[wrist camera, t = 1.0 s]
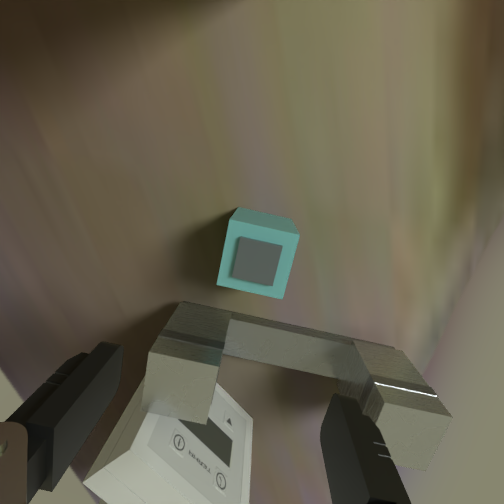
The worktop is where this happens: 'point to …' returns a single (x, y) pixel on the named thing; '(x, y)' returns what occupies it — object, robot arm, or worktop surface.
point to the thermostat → (176, 457)
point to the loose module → (258, 253)
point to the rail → (299, 358)
